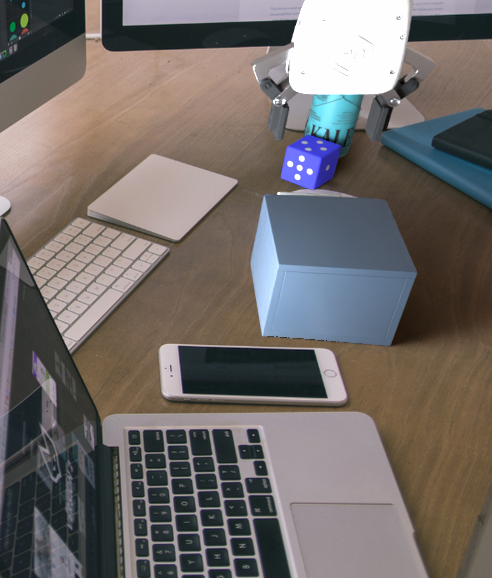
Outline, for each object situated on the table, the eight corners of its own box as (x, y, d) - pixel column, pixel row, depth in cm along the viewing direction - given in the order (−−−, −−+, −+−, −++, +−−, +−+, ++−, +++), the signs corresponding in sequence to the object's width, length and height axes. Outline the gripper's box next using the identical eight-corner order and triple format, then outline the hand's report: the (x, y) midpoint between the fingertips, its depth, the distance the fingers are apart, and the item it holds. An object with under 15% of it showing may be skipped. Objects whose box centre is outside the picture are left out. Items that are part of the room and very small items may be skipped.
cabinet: (250, 262, 94) (264, 194, 88) (363, 269, 91) (385, 199, 85) (261, 336, 83) (278, 264, 77) (390, 346, 81) (417, 272, 75)
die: (313, 191, 105) (321, 158, 102) (279, 178, 108) (286, 146, 105) (333, 177, 107) (342, 145, 104) (300, 165, 111) (307, 133, 108)
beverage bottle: (322, 143, 115) (356, 7, 103) (358, 161, 110) (398, 21, 98) (288, 154, 113) (318, 17, 101) (322, 173, 108) (358, 32, 96)
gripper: (273, -13, 73) (244, 151, 83) (478, -18, 69) (421, 153, 80) (262, -36, 78) (236, 120, 89) (450, -42, 75) (400, 121, 86)
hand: (323, 135), depth 84 cm, fingers open, 9 cm apart
